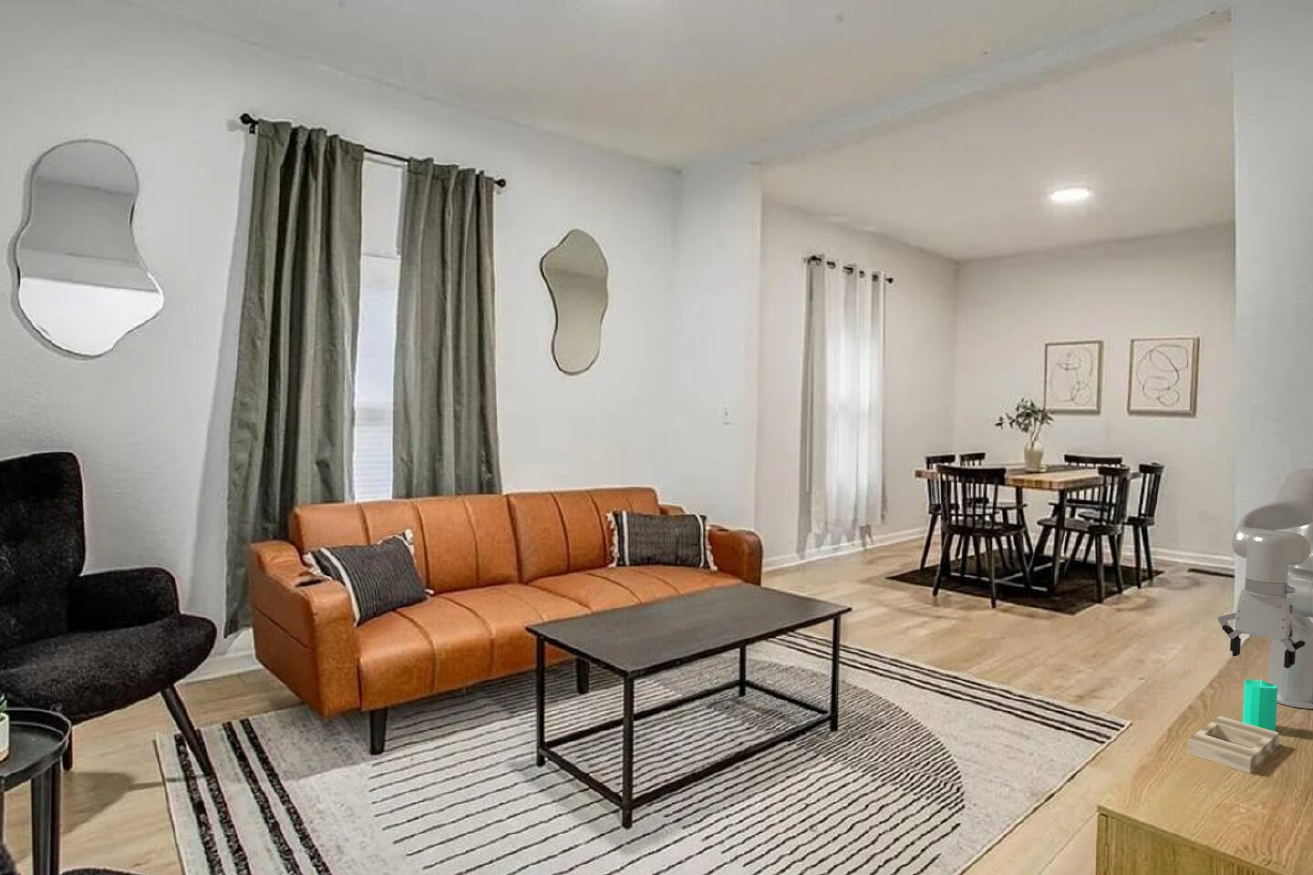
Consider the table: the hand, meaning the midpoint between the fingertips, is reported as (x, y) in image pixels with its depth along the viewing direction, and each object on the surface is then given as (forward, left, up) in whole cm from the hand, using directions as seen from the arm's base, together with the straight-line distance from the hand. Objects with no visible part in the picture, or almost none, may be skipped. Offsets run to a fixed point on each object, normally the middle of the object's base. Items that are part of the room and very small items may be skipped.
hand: (1261, 660), depth 175 cm
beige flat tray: (+17, 0, -16) cm, 24 cm away
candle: (-1, 0, -16) cm, 16 cm away
